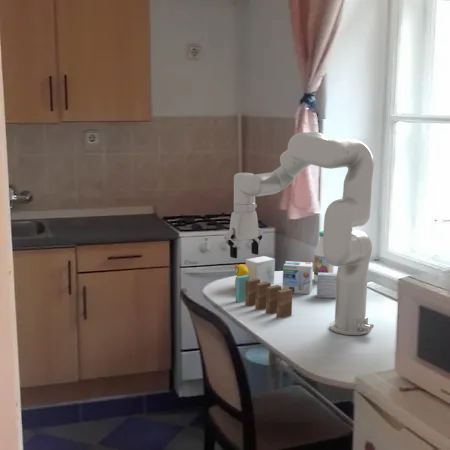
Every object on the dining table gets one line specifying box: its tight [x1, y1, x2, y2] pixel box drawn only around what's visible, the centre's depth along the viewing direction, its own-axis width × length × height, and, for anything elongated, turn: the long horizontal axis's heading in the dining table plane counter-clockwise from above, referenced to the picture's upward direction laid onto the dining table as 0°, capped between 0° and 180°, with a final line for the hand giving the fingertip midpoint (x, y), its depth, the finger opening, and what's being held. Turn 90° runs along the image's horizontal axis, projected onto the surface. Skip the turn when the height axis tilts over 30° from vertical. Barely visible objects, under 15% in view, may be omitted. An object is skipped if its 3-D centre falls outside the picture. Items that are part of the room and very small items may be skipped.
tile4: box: [244, 278, 260, 307], centre depth 244 cm, size 2×5×9 cm, turn 128°
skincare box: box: [244, 255, 276, 286], centre depth 270 cm, size 10×6×10 cm, turn 132°
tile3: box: [254, 282, 272, 311], centre depth 240 cm, size 2×5×9 cm, turn 128°
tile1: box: [276, 289, 293, 319], centre depth 232 cm, size 2×5×9 cm, turn 128°
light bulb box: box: [281, 260, 314, 295], centre depth 262 cm, size 11×7×11 cm, turn 76°
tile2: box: [265, 284, 282, 315], centre depth 236 cm, size 2×5×9 cm, turn 128°
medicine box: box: [316, 272, 337, 299], centre depth 255 cm, size 8×4×9 cm, turn 84°
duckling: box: [234, 263, 251, 288], centre depth 261 cm, size 11×5×10 cm, turn 25°
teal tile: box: [235, 275, 250, 303], centre depth 249 cm, size 2×5×9 cm, turn 128°
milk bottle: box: [313, 230, 335, 282], centre depth 277 cm, size 8×8×20 cm
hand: (244, 255), depth 246 cm, fingers open, 9 cm apart
